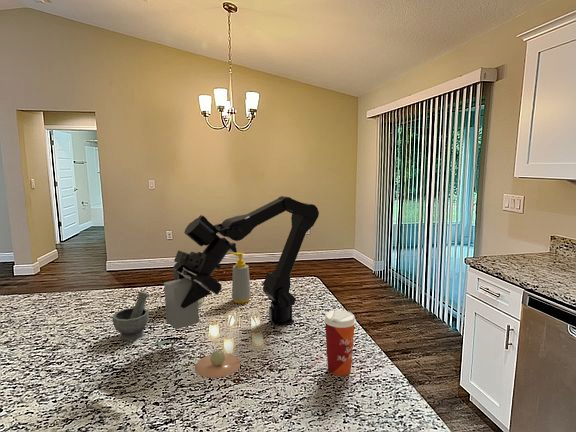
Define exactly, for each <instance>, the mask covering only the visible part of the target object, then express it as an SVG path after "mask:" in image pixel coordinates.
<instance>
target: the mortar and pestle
mask: <svg viewBox="0 0 576 432" xmlns="http://www.w3.org/2000/svg"><path fill="white" fill-rule="evenodd" d="M148 297H149V294H148V293H147V292H144V291H140V292H138V296H137V300H136V301H135V305H134V307H129V308H128V307H127V308H124V309H121V310H119V311H117V312H115V313H114V314H113V316H112V324H113V327H114V328H115V330H116V331H117V332H118V333H120V339H121V340H122V341H125V342H126V341H127V342H131V341H136V340H139V339H140V338H142V337H144V333H145V332H144V329H145V328H146V326H147V324H148V322H149V319H150V318H149V317H150V310H148V308H146V307H145V305H146V301H147V298H148Z"/></svg>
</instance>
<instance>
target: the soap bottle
mask: <svg viewBox="0 0 576 432" xmlns="http://www.w3.org/2000/svg"><path fill="white" fill-rule="evenodd" d="M230 255H232V256H236V257H238V260H237V261H236V263H235V265H233V266H232V283H231V284H232V285H231V286H232V288H231V298H232V299H233V303H236V304H246V303H248V302H249V301H250V299H251V298H252V297H251V296H252V295H251V294H252V293H251V281H250V269H249V267H250V266H249V265H248V264H246V262H245V260H243V255H245V252H236V253H234V252H230Z"/></svg>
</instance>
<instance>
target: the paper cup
mask: <svg viewBox="0 0 576 432" xmlns="http://www.w3.org/2000/svg"><path fill="white" fill-rule="evenodd" d="M323 322H324V323H325V343H326V361H327V371H328V372H329V374H331V375H333V376H337V377H344V376H348V375H349V374H350V373H351V371H352V362H353V352H354V351H353V350H354V337H355V327H356V323H357V319H356V318H355V315H354V314H353V313H352V312H350V311H348V310H342V309H341V310H339V309H335V310H329V311H328V312H327V313H325V316H324V318H323Z"/></svg>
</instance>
